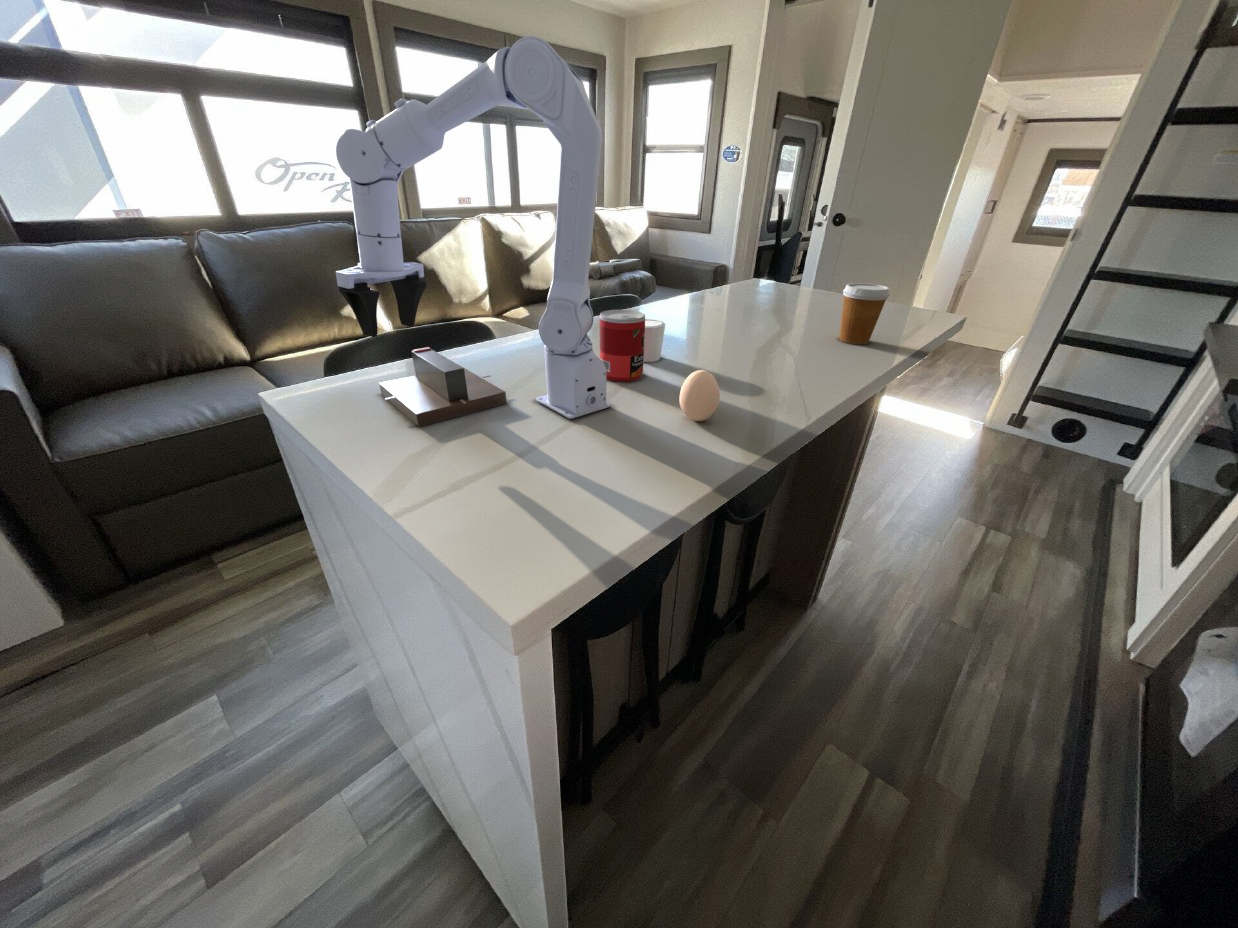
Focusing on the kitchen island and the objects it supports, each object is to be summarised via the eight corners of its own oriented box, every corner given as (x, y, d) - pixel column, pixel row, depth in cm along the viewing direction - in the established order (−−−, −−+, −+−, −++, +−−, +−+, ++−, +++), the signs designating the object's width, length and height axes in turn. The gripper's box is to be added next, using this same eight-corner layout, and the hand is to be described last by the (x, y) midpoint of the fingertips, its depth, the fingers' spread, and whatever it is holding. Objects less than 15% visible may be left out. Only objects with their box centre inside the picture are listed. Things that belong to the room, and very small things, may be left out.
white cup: (669, 356, 100) (671, 321, 97) (652, 365, 95) (654, 329, 92) (640, 350, 103) (641, 317, 100) (622, 358, 98) (623, 323, 95)
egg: (722, 427, 71) (728, 376, 67) (683, 429, 70) (688, 378, 66) (709, 411, 76) (715, 363, 72) (673, 412, 75) (677, 364, 71)
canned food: (639, 384, 86) (641, 320, 80) (595, 380, 87) (594, 317, 82) (645, 370, 92) (648, 310, 87) (604, 367, 94) (604, 308, 88)
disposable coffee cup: (836, 345, 110) (850, 289, 104) (828, 334, 118) (840, 282, 112) (881, 347, 108) (897, 291, 102) (869, 336, 116) (884, 283, 111)
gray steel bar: (468, 396, 74) (463, 366, 72) (449, 401, 72) (444, 370, 70) (434, 374, 83) (429, 346, 80) (416, 377, 81) (410, 349, 79)
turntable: (517, 402, 78) (516, 389, 77) (409, 431, 68) (405, 417, 67) (469, 374, 89) (467, 362, 88) (370, 395, 79) (366, 383, 78)
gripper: (395, 228, 76) (403, 316, 83) (312, 231, 64) (329, 334, 71) (432, 236, 74) (437, 325, 81) (353, 240, 62) (367, 345, 69)
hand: (389, 330), depth 76 cm, fingers open, 7 cm apart
